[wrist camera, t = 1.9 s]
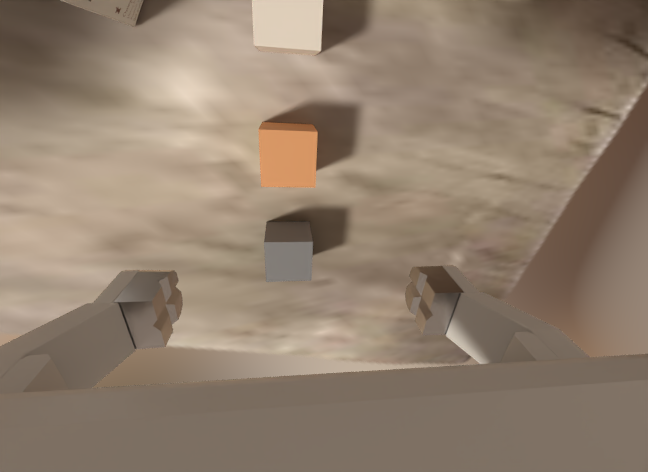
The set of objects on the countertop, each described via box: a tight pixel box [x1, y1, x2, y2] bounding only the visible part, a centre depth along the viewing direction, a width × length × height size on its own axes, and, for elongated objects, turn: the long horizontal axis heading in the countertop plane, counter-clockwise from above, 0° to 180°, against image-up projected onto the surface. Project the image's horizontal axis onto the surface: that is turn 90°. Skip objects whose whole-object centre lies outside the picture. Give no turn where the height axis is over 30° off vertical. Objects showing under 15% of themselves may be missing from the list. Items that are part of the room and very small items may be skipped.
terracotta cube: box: [259, 122, 318, 187], centre depth 28 cm, size 5×5×5 cm
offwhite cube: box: [252, 0, 323, 56], centre depth 22 cm, size 5×5×5 cm
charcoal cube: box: [264, 221, 313, 282], centre depth 33 cm, size 5×5×5 cm
